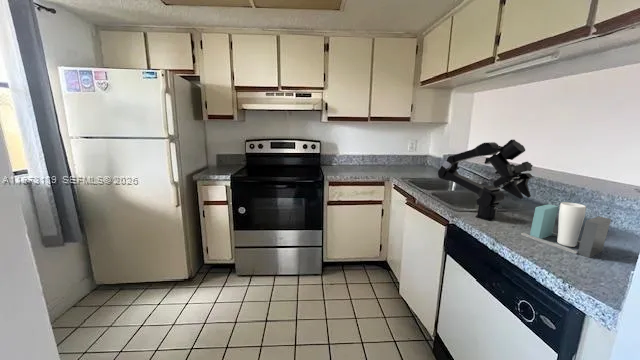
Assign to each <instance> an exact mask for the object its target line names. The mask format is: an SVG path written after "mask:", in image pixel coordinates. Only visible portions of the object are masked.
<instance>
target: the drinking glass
mask: <svg viewBox="0 0 640 360" xmlns="http://www.w3.org/2000/svg"><path fill="white" fill-rule="evenodd" d="M586 208H587V206H586V205H584V204H581V203H575V202H565V201H564V202H560V205H559V208H558V223H557V225H558V226H557V234H558V237H556V238H557V239H556V241H557V244H558V245H561V246H564V247H568V248H572V247H573V248H574V247H576V246H578V244H577V241H579V237H580V233H581V230H582V227H583V224H584V220H585V216H586V210H587V209H586Z"/></svg>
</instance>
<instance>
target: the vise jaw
mask: <svg viewBox="0 0 640 360" xmlns="http://www.w3.org/2000/svg"><path fill="white" fill-rule="evenodd" d="M559 208H560V205H559V206H558V205H554V204H550V203H548V204H544V205H540V206H535V209H534V214H533V218H532V222H531V227H530V232H529V235H532V236H535V237H538V238H541V239H545V238H548V237H551V236H553V235H552V233H554V228H555V224H556V219H557V217H558V216H557V215H558V212H559Z"/></svg>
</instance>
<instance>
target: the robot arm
mask: <svg viewBox="0 0 640 360" xmlns="http://www.w3.org/2000/svg"><path fill="white" fill-rule="evenodd" d="M525 152H526V148H525V146H524V145H523V144H521V143H520V142H518V141H516V139H510V140H509V141H507V143H505V144H504V145H502V146H501V145H499V144H498V143H497V142H495V141H494V142H493V141H492V142H483V143H481V144H478V145H477V146H475V147H474V148H473V149H469V150H466V151H463V152H460V153H457V154H456V153H455V154H452V155H449V156H448V157H447V159H446V160H445V161H444V163H443V164H442V165H441V166H440V168H439V170H437V175H438V176H437V178H439V180H440V179H441V180H444V181H447V182H453V183H454V184H457V185H459V186H460V187H463V188H464V189H466V190H468V191H470V192H472V193H474V194H476V195H477V196H478V197H479V198H477V199H476V200H475V201H476V204H477V205H478V209H477V213H476V215H475V218H479V219H482V220H486V221H491V222H492V221H493V220H494V219H496V218H497V214H498V213H497V212H498V209H497V206H499V205H500V203H501V202H503V201H504V200H505V194H504V192H503V191H505V192H507V193H509V194H511V195H512V196H515V197H516V198H518V199H520V200H522V199H524V196H525V197H526V198H531V197H532V195H531V193H530V189H529V186H528V182H529V181H530V180H531V179H532V178H533V177H534V176H533V175H532V174H531V173H530V172H531V171H533V169H532V167H533V166H534V165H533V164H532V163H531V162H529V161H524V162H521V163H520V164H516V165H515V164H513V163H510V162H509V161H510V160H511V161H512V160H514V159H516V158H517V157H519V156H521V155H522V154H524V153H525ZM486 156H488V157H486ZM478 157H485V160H484V164H485V165H489V164H491V166H492V167H493V168H494V171H495V174H496V175H499V177H498V178H496V179H495V180H493V182H492V184H491V185H486V186H485V185H484V186H483V185H482V184H479V183H478V182H475V181H473V180H472V179H469V178H467V177H465V176H463V175H461V174H460V173H459V172H458V171H457V170H458V166H459V163H461V162H464V161H467V160H471V159H475V158H478ZM501 186H502V187H501ZM502 190H503V191H502ZM523 195H524V196H523Z"/></svg>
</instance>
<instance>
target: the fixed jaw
mask: <svg viewBox="0 0 640 360" xmlns="http://www.w3.org/2000/svg"><path fill="white" fill-rule="evenodd" d="M611 221H612V218H608V217H603V216H596V217H593V218H590V219H586V220H585V224H584V225H583V231H582V235H581V239H580V240H578V241H577V245H579V246H578V250H576V249H572V248H571V247H568V246H564V245H561V244H559V243H556V242H552V241H549V240H548V239H547V240H546V239H545V238H542V239H541V238H538V237H535V236H532V235H530V233H529V234H528V233H526V232H524V231H523V232H521V236H523V237H527V238H528V239H533V240H535V241H537V242H540V243H543V244H546V245H549V246H552V247H554V248H558V249H560V250H563V251H566V252H569V253H571V254H574V255H580V256H583V257H586V258H588V259H589V258H592V257H594V256H596V255H598V254H600V253H603V251H604V247H605V246H604V245H605V242H606V240H607V239H606V238H607V235H608V232H609V228H610V224H611ZM551 236H553V237H556V238H558V233H555V232H553V233H552V235H551Z"/></svg>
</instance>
